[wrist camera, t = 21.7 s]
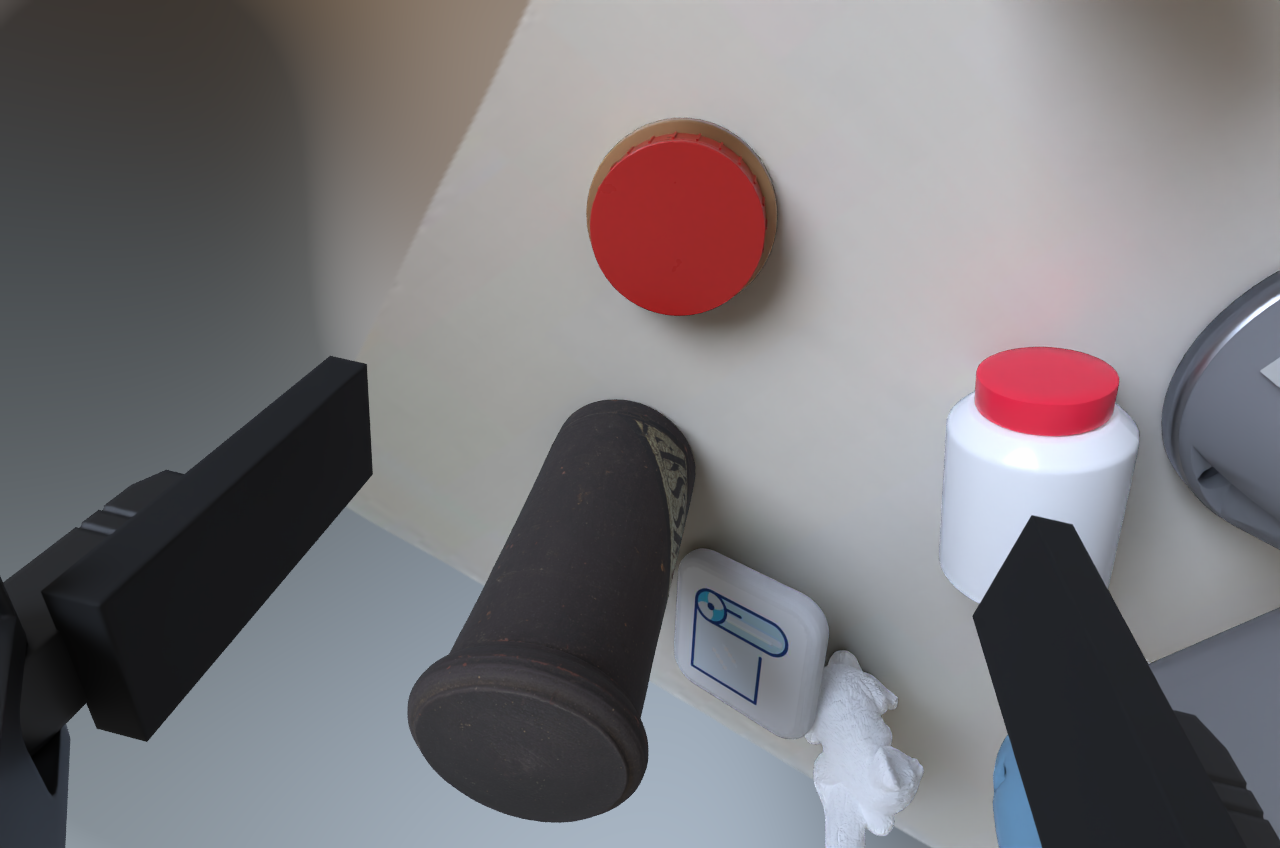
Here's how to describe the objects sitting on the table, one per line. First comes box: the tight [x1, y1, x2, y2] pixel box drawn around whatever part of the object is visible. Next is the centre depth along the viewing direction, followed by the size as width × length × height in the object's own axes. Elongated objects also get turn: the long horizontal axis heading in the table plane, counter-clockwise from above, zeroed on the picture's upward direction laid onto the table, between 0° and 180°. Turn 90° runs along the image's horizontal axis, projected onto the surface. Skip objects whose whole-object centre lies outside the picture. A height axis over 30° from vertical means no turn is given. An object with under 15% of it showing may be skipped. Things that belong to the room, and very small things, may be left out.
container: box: [408, 400, 695, 822], centre depth 34 cm, size 9×9×20 cm
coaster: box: [586, 118, 777, 295], centre depth 34 cm, size 9×9×1 cm
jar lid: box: [590, 131, 768, 316], centre depth 33 cm, size 8×8×2 cm
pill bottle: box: [939, 347, 1140, 604], centre depth 34 cm, size 8×8×11 cm
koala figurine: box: [804, 650, 924, 848], centre depth 43 cm, size 8×7×12 cm
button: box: [674, 548, 829, 739], centre depth 44 cm, size 10×2×10 cm
